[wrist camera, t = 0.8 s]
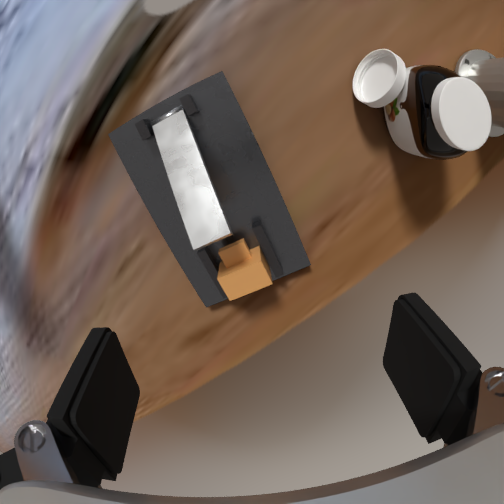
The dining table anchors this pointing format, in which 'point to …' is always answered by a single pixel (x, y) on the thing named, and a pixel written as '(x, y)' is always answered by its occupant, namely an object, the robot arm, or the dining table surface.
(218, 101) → the plate
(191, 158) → the strap
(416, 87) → the spread jar
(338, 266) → the dining table surface
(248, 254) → the block
